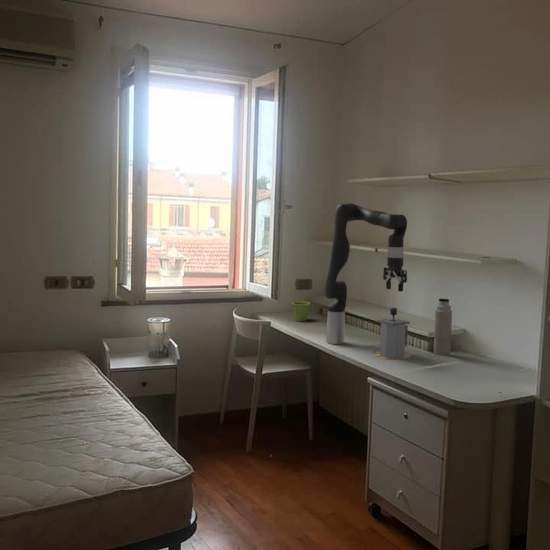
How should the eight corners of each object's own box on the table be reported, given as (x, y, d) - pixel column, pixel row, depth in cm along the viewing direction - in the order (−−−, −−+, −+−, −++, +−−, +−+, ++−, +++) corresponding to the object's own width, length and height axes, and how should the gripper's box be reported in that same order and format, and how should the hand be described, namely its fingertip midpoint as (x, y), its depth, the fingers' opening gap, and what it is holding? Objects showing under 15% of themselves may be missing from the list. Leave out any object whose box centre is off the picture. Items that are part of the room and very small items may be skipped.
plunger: (380, 346, 301) (381, 307, 299) (393, 345, 305) (394, 306, 303) (391, 350, 294) (392, 310, 292) (404, 348, 298) (406, 308, 296)
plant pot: (292, 318, 404) (292, 301, 403) (310, 319, 402) (310, 301, 401) (290, 321, 392) (290, 304, 391) (309, 322, 391) (309, 304, 389)
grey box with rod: (375, 354, 302) (376, 319, 300) (398, 351, 309) (399, 317, 307) (390, 359, 292) (392, 323, 290) (413, 355, 299) (415, 321, 297)
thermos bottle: (449, 353, 309) (451, 298, 306) (450, 357, 301) (453, 300, 298) (433, 352, 310) (435, 297, 307) (434, 356, 302) (436, 299, 299)
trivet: (365, 355, 303) (365, 353, 303) (394, 351, 312) (394, 349, 312) (390, 363, 288) (390, 361, 288) (419, 359, 297) (419, 357, 296)
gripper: (379, 255, 299) (378, 288, 300) (399, 257, 286) (398, 292, 288) (391, 255, 302) (390, 288, 304) (411, 257, 290) (410, 291, 292)
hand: (394, 290), depth 296 cm, fingers open, 8 cm apart
